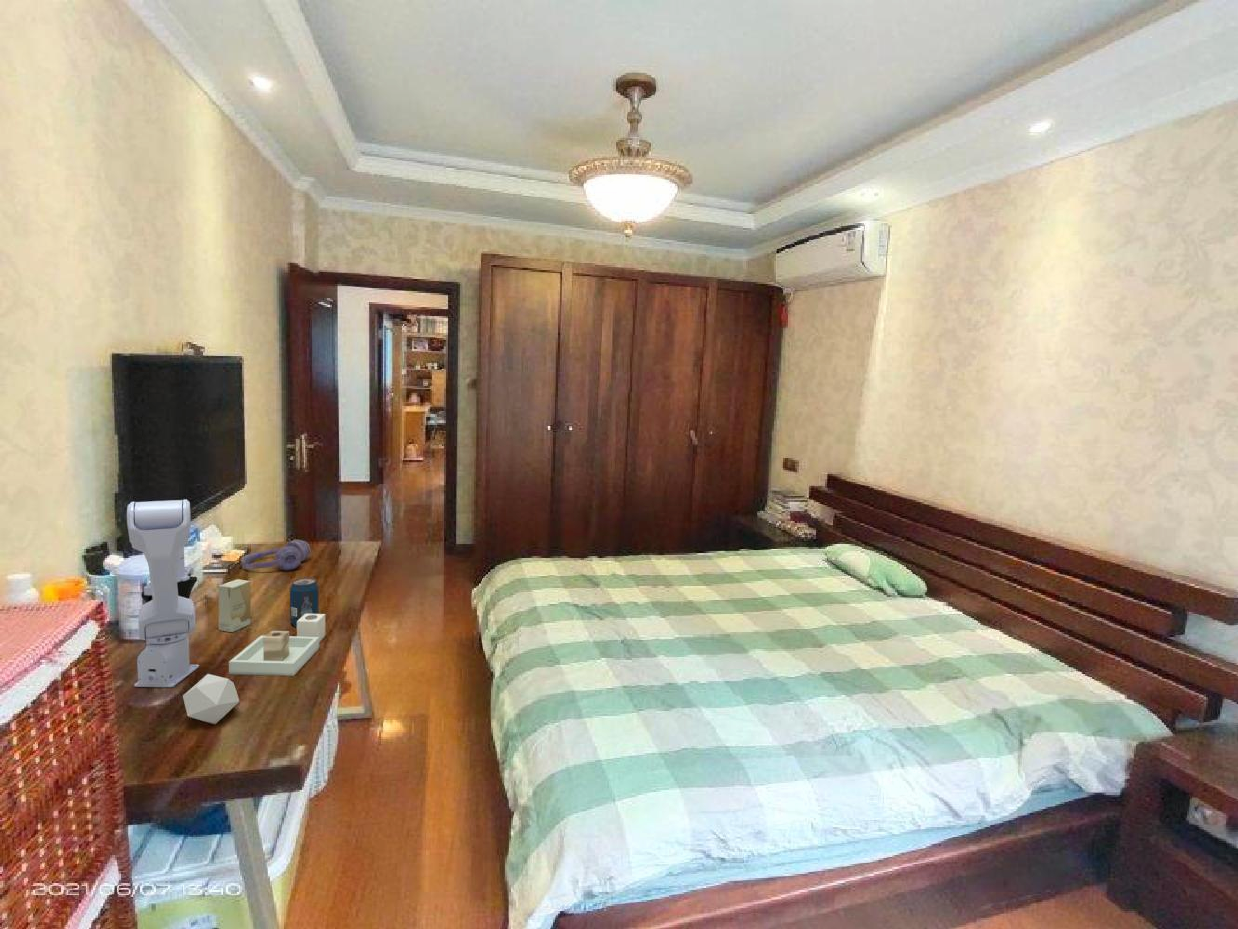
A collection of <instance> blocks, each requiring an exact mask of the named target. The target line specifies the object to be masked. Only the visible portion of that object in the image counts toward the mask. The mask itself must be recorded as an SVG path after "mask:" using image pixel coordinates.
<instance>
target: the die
mask: <svg viewBox="0 0 1238 929" xmlns="http://www.w3.org/2000/svg"><path fill="white" fill-rule="evenodd" d="M182 698H183V702H184V706H185V710H186V715H187V717H189V718H192V719H195V720H199V721H202V722H206V723H209V724H213V725H216V724H218V722H219V721H220V720H222V719H223V718H224V717H225V716H226V715H227V714H228V713H229V712H230V711H231V710H232V709H233V708H234V707H236V706H237V704H239V702H240V698H239V695H238V691H237V689H236V687H235V683H234V682H233V681H232V680H231V679H229V678H226V677H221V676H218V675H214V674H210V673H207V674H206V675H204V676H203V677H202V678H201V679H200V680H199V681H198V682H196V684H195V685H194V686H192V687H191V688H190V689H188V691H187V692H185V693H183V695H182Z"/></svg>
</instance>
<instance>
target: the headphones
mask: <svg viewBox="0 0 1238 929" xmlns="http://www.w3.org/2000/svg"><path fill="white" fill-rule="evenodd" d="M311 551H312V550H311V546H310V544H309V543H308V542H307V541H305V540H303V539H294V540H290V541H289V542H287V544H286V545H285V546H283V547H279V548H273V549H266V550H265V549H264V550H260V551H254V552H252V553H248V554H245V555H244V556H242V557H241V559H240V561H241V567H242V569H243V570H254V569H264V568H271V567H275V566H277V567H278V568H279V569H281V570H283V571H292V570H294V569H297V568H298V567H299V566H300V564H301V563H302V562H303V561H306V560H307V558H308V557H309V556H310V555H311ZM274 554H275V555H274ZM270 555H274V560H271V561H266V562H265V561H264V562H259V563H252V562H254V561H257V560H259V559H262V558H264V557H267V556H270ZM301 561H302V562H301Z"/></svg>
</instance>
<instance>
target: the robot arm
mask: <svg viewBox="0 0 1238 929" xmlns="http://www.w3.org/2000/svg"><path fill="white" fill-rule="evenodd" d="M191 520H192V519H191V503H190V501H189V500H188V499H187V498H186V499H178V500H177V499H176V500H152V501H131V502H130V503H129V504H127V508H126V526H127V531H128V538H129V543H130V544H131V548H132V549H134V550H136V551H139V552H141V553H143V555H144V558H145V560H146V563H147V565H148V572H149V579H150V582H149V583H148V584H147V585H145V586H143V591H141V593H140V594H141V598H142V599H143V600H144V601H145V602H146V603H144V604H142V605H140V609H139V610H138V626H137V627H138V637H139V639H141V641H146V646H145V648H144V649H143V650H142V651H141V652H140V653H139V654H138V656H137V661H136V664H137V682H135V683H134V684H133V686H134V688H135V687H137V688H139V687H140V688H143V687H144V688H174V687H175V686H177V685H178V684H179V683H180V682H182V681H183V680H184V679H185V678H187V676H190V675H191V673H193V672H194V671H196V670H197V669H199V667H200V665H199V664H191V663H190V634H193V633H194V632H195V630H196V607H195V604H194V601H193V599H192V598H190V596H191V593H192V591H193V588H194V586H195V584H196V583H197V581H198V577H197V576H194V573H195V572H194V571H195V570H194V566H185V546H186V545H188V544H189V539H190V538H191Z"/></svg>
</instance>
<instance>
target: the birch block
mask: <svg viewBox="0 0 1238 929" xmlns="http://www.w3.org/2000/svg"><path fill="white" fill-rule="evenodd" d="M264 636H265V637H264V638H263V657H264V661H283V660H284V659H285V658H287V657H288V656H289V636H290V631H289V630H271V631H270V632H268V633H267V634H266V635H264Z"/></svg>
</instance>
